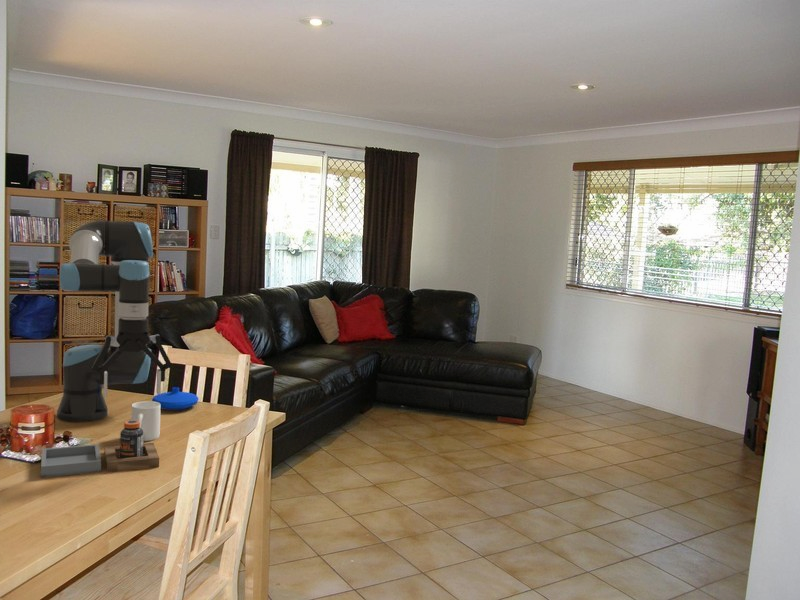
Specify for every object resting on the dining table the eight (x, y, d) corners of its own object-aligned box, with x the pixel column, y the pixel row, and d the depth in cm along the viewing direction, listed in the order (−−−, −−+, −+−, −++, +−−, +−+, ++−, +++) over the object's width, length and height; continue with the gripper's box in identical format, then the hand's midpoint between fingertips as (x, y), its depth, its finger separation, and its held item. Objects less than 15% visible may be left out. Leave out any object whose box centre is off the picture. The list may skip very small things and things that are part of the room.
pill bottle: (115, 463, 186) (115, 423, 185) (128, 456, 192) (129, 417, 191) (134, 466, 185) (134, 425, 184) (147, 459, 191) (148, 420, 189)
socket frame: (103, 452, 194) (103, 443, 194) (152, 447, 200) (152, 439, 199) (107, 472, 180) (107, 462, 179) (159, 466, 186) (159, 457, 185)
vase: (202, 402, 251) (203, 383, 250) (192, 414, 235) (193, 394, 234) (158, 400, 249) (159, 381, 248) (146, 412, 234) (146, 392, 233)
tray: (42, 459, 186) (42, 448, 185) (98, 454, 192) (98, 444, 192) (41, 478, 173) (40, 466, 173) (100, 471, 179) (101, 461, 179)
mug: (150, 446, 201) (151, 412, 200) (122, 445, 200) (122, 411, 199) (163, 433, 213) (164, 401, 212) (136, 432, 212) (137, 400, 211)
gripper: (83, 320, 175) (82, 400, 177) (183, 319, 186) (181, 395, 188) (82, 316, 182) (81, 393, 184) (179, 315, 193) (177, 388, 195)
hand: (132, 394), depth 186 cm, fingers open, 13 cm apart
